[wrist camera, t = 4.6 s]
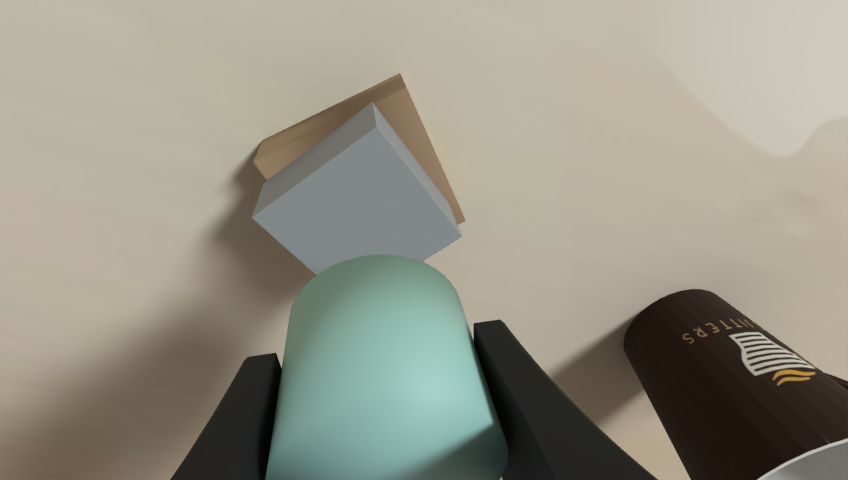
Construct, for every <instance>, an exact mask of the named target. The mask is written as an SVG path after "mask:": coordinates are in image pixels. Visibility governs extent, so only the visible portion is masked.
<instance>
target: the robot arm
mask: <svg viewBox="0 0 848 480" xmlns="http://www.w3.org/2000/svg"><path fill="white" fill-rule="evenodd" d="M474 345H475V348H476V351H477V354H478V357H479V360H480V363H481V366H482V369H483V372H484V375H485V378H486V381H487V384H488V388H489V391H490V394H491V397H492V400H493V403H494V406H495V409H496V412H497V415H498V418H499V421H500V424H501V427H502V430H503V434H504V437H505V440H506V443H507V448H508V460H507V464H506V467H505V470H504V472H503V474H502V478H503V480H658V479H656V478H655V477H654V476H653V475H651V474H650V473H649V472H648V471H647V470H645V469H644V468H643V467H642V466H641V465H640V464H638V463H637V462H636V461H635V460H634V459H633V458H631V457H630V456H629V455H628V454H627V453H626V452H624V451H623V450H622V449H621V448H620V447H619V446H618V445H617V444H616V443H614V442H613V441H612V440H611V439H610V438H609V437H608V436H607V435H606V434H605V433H604V432H603V431H601V430H600V429H599V428H598V427H597V426H596V425H595V424H594V423H593V422H592V421H591V420H590V419H589V418H588V417H587V416H586V415H585V414H584V413H583V412H582V411H581V410H580V409H579V408H578V407H577V406H576V405H575V404H574V403H573V402H572V401H571V400H570V399H569V398H568V397H567V396H566V395H565V394H564V393H563V391H562V390H561V389H560V388H559V387H558V386H557V385H556V384H555V383H554V382H553V381H552V380H551V379H550V378H549V376H548V375H547V374H546V373H545V372H544V371H543V370H542V369H541V367H540V366H539V365H538V364H537V363H536V362H535V361H534V359H533V358H532V357H531V356H530V355H529V354H528V352H527V351H526V350H525V349H524V348H523V346H522V345H521V344H520V343H519V341H518V340H517V339H516V338H515V336H514V335H513V334H512V333H511V331H510V330H509V329H508V327H507V326H506V325H505V323H504V322H502V321H501V320H494V321H487V322H480V323H474ZM281 371H282V369H281V366H280V363H279V360H278V357H277V354H276V353H272V354H265V355H258V356H251V357H247V358H246V360H245V361H244V362H243V364H242V366H241V367H240V369H239V371H238V373H237V374H236V376H235V378H234V380H233V381H232V383H231V385H230V387H229V388H228V390H227V392H226V393H225V395H224V397H223V399H222V400H221V402H220V404H219V405H218V407H217V409H216V410H215V412H214V414H213V415H212V417H211V418H210V420H209V422H208V423H207V425H206V426H205V428H204V429H203V431H202V433H201V434H200V436H199V437H198V439H197V440H196V442H195V444H194V445H193V447H192V448H191V450H190V451H189V453H188V455H187V456H186V458H185V459H184V461H183V462H182V464H181V465H180V466H179V468H178V469H177V471H176V472H175V474H174V475H173V476H172V478H171V479H170V480H266V472H267V466H268V459H269V452H270V445H271V439H272V432H273V425H274V418H275V411H276V405H277V398H278V391H279V384H280V378H281Z"/></svg>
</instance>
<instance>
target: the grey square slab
mask: <svg viewBox="0 0 848 480" xmlns="http://www.w3.org/2000/svg"><path fill="white" fill-rule="evenodd" d="M252 219H254V220H255V221H256V222H257V223H258V224H259V225H260V226H261V227H262V228H264V229H265V230H266V231H267V232H268V233H269V234H270V235H271V236H273V237H274V238H275V239H276V240H277V241H278V242H279V243H280V244H282V245H283V246H284V247H285V248H286V249H287V250H288V251H289V252H291V253H292V254H293V255H294V256H295V257H296V258H297V259H298V260H299V261H301V262H302V263H303V264H304V265H305V266H306V267H307V268H308V269H310V270H311V271H312V272H313V273H314V274H315V275H318V274H319V273H321V272H322V271H323V270H325V269H327V268H329V267H331V266H333V265H335V264H337V263H340V262H342V261H345V260H348V259H352V258H356V257H360V256H367V255H379V254H387V255H398V256H404V257H409V258H412V259H416V260H419V261H421V262H422V261H424V260H426V259H427V258H429V257H430V256H432V255H433V254H435V253H437V252H438V251H440V250H441V249H443V248H444V247H446V246H448V245H449V244H451V243H452V242H454V241H456V240H457V239H459V238H460V237H462V235H461V233H460V230H459V228H458V225H457V223H456V220H455V218H454V215H453V213H452V210H451V208H450V205H449V203H448V201H447V200H446V199H445V197H444V196H443V195H442V193H441V192H440V191H439V189H438V188H437V187H436V185H435V184H434V183H433V181H432V180H431V179H430V177H429V176H428V175H427V173H426V172H425V171H424V170H423V168H422V167H421V166H420V164H419V163H418V162H417V160H416V159H415V158H414V156H413V155H412V154H411V152H410V151H409V150H408V148H407V147H406V146H405V144H404V143H403V142H402V140H401V139H400V138H399V136H398V135H397V134H396V132H395V131H394V130H393V128H392V127H391V126H390V124H389V123H388V122H387V121H386V119H385V118H384V117H383V115H382V114H381V113H380V111H379V110H378V109H377V107H376V106H375V105H374V103H373V102H372V103H370V104H369V105H368V106H366V107H365V108H364V109H362V110H361V111H360V112H358V113H357V114H356V115H354V116H353V117H351V118H350V119H349V120H347V121H346V122H345V123H343V124H342V125H341V126H339V127H338V128H337V129H335V130H334V131H333V132H331V133H330V134H329V135H327V136H326V137H325V138H323V139H322V140H321V141H319V142H318V143H317V144H315V145H314V146H313V147H311V148H310V149H309V150H307V151H306V152H305V153H303V154H302V155H301V156H299V157H298V158H297V159H295V160H294V161H293V162H291V163H290V164H288V165H287V166H286V167H284V168H283V169H282V170H280V171H279V172H278V173H276V174H275V175H274V176H272V177H271V178H270V179H268V180H267V181H266V182H264V183H263V186H262V189H261V192H260V195H259V197H258V200H257V203H256V206H255V209H254V212H253V215H252Z"/></svg>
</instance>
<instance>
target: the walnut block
mask: <svg viewBox="0 0 848 480" xmlns="http://www.w3.org/2000/svg"><path fill="white" fill-rule="evenodd" d="M372 102H373V103H374V105H375V106H376V107H377V109H378V110H379V111H380V113H381V114H382V115H383V117H384V118H385V119H386V121H387V122H388V123H389V124H390V126H391V127H392V128H393V130H394V131H395V132H396V134H397V135H398V136H399V138H400V139H401V140H402V142H403V143H404V144H405V146H406V147H407V148H408V150H409V151H410V152H411V154H412V155H413V156H414V158H415V159H416V160H417V162H418V163H419V164H420V166H421V167H422V168H423V170H424V171H425V172H426V173H427V175H428V176H429V177H430V179H431V180H432V181H433V183H434V184H435V185H436V187H437V188H438V189H439V191H440V192H441V193H442V195H443V196H444V197H445V199H446V200H447V201H448V203H449V205H450V208H451V210H452V213H453V215H454V218H455V220H456V223H457V225H458V224H460V223H462V222H465V219H464V216H463V214H462V212H461V209H460V207H459V205H458V203H457V200H456V198H455V196H454V194H453V191H452V189H451V187H450V185H449V182H448V180H447V178H446V176H445V173H444V171H443V169H442V166H441V164H440V162H439V160H438V157H437V155H436V153H435V151H434V148H433V146H432V144H431V142H430V139H429V137H428V135H427V133H426V130H425V128H424V126H423V124H422V121H421V119H420V117H419V115H418V112H417V110H416V108H415V106H414V103H413V101H412V99H411V97H410V94H409V92H408V90H407V88H406V85H405V83H404V81H403V79H402V76H401V74H400V73H399V74H397V75H395V76H393V77H391V78H389V79H387V80H385V81H383V82H381V83H379V84H377V85H375V86H373V87H371V88H369V89H367V90H365V91H363V92H361V93H358V94H356V95H354V96H352V97H350V98H348V99H346V100H344V101H342V102H340V103H338V104H336V105H334V106H332V107H330V108H328V109H326V110H324V111H322V112H320V113H318V114H316V115H313V116H311V117H309V118H307V119H305V120H303V121H301V122H299V123H297V124H295V125H293V126H291V127H289V128H287V129H285V130H283V131H281V132H279V133H277V134H275V135H273V136H271V137H268V138H266V139H264V140H262V142H261V144H260V147H259V149H258V151H257V154H256V156H255V159H254V161H253V162H254V164H255V165H256V166H257V168H258V169H259V171H260V172H261V173H262V175H263V176H264V177H265V179H266V180H268V179H270V178H271V177H272V176H274V175H275V174H276V173H278V172H279V171H280V170H282V169H283V168H284V167H286V166H287V165H288V164H290V163H291V162H293V161H294V160H295V159H297V158H298V157H299V156H301V155H302V154H303V153H305V152H306V151H307V150H309V149H310V148H311V147H313V146H314V145H315V144H317V143H318V142H319V141H321V140H322V139H323V138H325V137H326V136H327V135H329V134H330V133H331V132H333V131H334V130H335V129H337V128H338V127H339V126H341V125H342V124H343V123H345V122H346V121H347V120H349V119H350V118H351V117H353V116H354V115H356V114H357V113H358V112H360V111H361V110H362V109H364V108H365V107H366V106H368V105H369V104H370V103H372Z"/></svg>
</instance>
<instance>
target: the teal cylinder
mask: <svg viewBox="0 0 848 480" xmlns="http://www.w3.org/2000/svg"><path fill="white" fill-rule="evenodd" d="M507 460H508V448H507V443H506V440H505V437H504V434H503V430H502V427H501V424H500V421H499V418H498V415H497V412H496V409H495V406H494V403H493V400H492V397H491V394H490V391H489V388H488V384H487V381H486V378H485V375H484V372H483V369H482V366H481V363H480V360H479V357H478V354H477V351H476V348H475V345H474V342H473V339H472V335H471V332H470V329H469V326H468V323H467V320H466V317H465V314H464V311H463V308H462V305H461V302H460V299H459V296H458V294H457V291H456V290H455V288H454V287H453V285H452V283H451V282H450V281H449V280H448V279H447V278H446V277H445V276H444V275H443V274H442V273H440V272H439V271H438V270H436V269H435V268H433V267H431V266H430V265H428V264H426V263H423V262H421V261H419V260H416V259H412V258H409V257H404V256H398V255H387V254H379V255H367V256H360V257H356V258H352V259H348V260H345V261H342V262H340V263H337V264H335V265H333V266H331V267H329V268H327V269H325V270H323V271H322V272H321V273H319V274H318V275H316V276H315V277H314V278H313V279H311V280H310V281H309V282H308V283H307V284H306V285H305V286H304V287H303V289H302V290H301V291H300V292H299V294H298V296H297V297H296V299H295V301H294V303H293V306H292V308H291V312H290V317H289V324H288V330H287V337H286V344H285V351H284V357H283V364H282V371H281V378H280V384H279V391H278V398H277V405H276V411H275V418H274V425H273V432H272V439H271V445H270V452H269V459H268V466H267V472H266V480H499V479H500V478H501V476H502V474H503V472H504V470H505V467H506V464H507Z"/></svg>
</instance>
